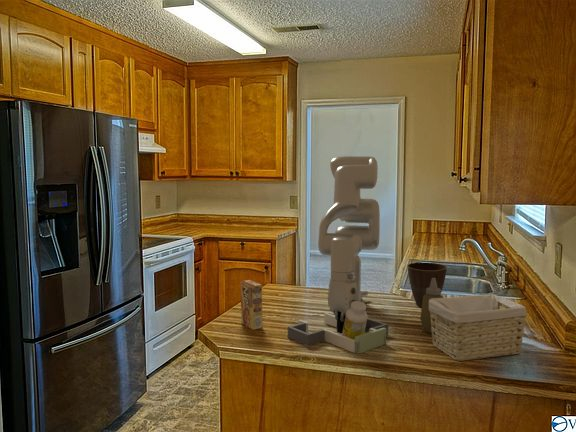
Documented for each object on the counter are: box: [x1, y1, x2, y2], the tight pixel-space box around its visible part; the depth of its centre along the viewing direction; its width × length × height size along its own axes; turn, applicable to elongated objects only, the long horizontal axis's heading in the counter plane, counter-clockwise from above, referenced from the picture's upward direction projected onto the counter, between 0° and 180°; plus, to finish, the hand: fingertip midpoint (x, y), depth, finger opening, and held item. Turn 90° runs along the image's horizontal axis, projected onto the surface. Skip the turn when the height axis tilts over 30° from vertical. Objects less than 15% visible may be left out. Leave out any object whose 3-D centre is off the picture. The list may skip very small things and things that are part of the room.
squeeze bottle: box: [419, 278, 444, 334], centre depth 164 cm, size 8×8×18 cm
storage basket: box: [429, 293, 527, 362], centre depth 147 cm, size 24×16×15 cm
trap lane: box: [287, 312, 389, 355], centre depth 159 cm, size 27×27×5 cm
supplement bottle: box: [341, 301, 369, 340], centre depth 151 cm, size 7×7×13 cm
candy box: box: [239, 279, 264, 330], centre depth 170 cm, size 9×4×15 cm, turn 33°
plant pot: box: [407, 262, 448, 309], centre depth 193 cm, size 15×15×16 cm
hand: (342, 332), depth 157 cm, fingers closed
